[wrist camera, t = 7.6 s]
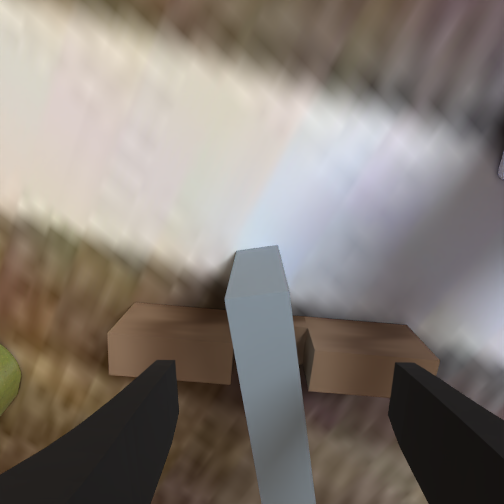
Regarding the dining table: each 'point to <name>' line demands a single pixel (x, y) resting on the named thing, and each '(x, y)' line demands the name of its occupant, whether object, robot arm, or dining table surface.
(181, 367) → the base rail
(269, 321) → the crosspiece
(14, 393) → the plant pot
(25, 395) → the dining table surface
